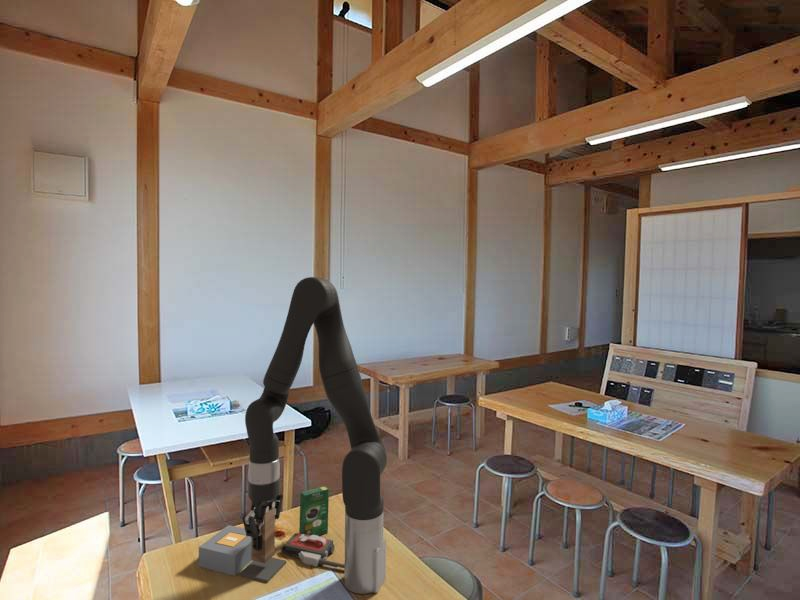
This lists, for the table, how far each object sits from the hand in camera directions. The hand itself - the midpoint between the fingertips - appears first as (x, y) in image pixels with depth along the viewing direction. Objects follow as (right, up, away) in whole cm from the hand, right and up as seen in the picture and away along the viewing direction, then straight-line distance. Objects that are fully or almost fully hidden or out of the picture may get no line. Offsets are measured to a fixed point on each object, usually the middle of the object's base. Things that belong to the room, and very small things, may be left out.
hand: (263, 544), depth 109 cm
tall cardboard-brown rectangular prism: (0, -3, 0) cm, 3 cm away
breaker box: (-10, -6, +4) cm, 12 cm away
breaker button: (-10, -5, +4) cm, 12 cm away
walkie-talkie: (+13, -7, +6) cm, 16 cm away
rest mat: (0, -6, 0) cm, 6 cm away
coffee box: (+10, -6, +16) cm, 19 cm away
